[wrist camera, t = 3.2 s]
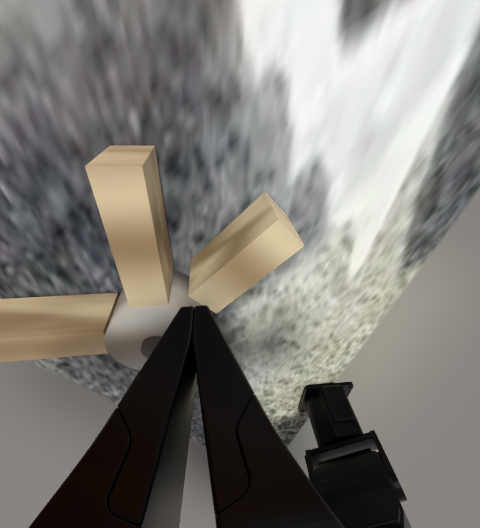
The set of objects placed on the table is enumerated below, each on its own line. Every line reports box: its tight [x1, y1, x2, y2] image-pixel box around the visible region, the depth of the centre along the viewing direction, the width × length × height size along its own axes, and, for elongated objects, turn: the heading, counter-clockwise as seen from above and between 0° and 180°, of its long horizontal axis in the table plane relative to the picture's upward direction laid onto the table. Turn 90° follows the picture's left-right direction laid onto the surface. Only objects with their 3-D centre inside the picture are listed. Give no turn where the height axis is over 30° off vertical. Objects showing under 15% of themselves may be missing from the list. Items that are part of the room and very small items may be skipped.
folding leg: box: [188, 192, 304, 314], centre depth 18 cm, size 8×2×4 cm, turn 133°
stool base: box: [0, 146, 202, 371], centre depth 20 cm, size 25×16×5 cm, turn 178°
